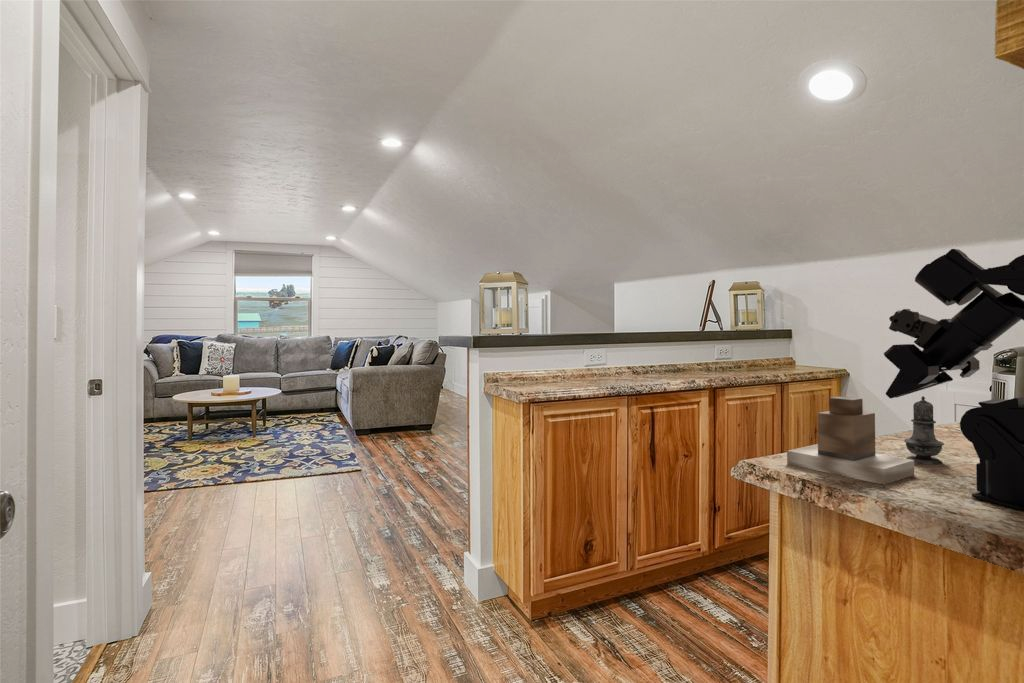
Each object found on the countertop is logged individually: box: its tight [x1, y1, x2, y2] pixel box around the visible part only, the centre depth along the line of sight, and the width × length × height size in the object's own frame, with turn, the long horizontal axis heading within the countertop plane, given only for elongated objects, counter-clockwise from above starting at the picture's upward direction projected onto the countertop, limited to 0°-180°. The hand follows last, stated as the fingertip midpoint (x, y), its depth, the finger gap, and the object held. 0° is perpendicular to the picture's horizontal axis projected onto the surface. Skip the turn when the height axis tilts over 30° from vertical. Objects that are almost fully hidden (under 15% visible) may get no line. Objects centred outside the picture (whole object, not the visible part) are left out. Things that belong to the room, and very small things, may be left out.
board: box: [786, 443, 915, 486], centre depth 92 cm, size 16×10×2 cm, turn 30°
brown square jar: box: [816, 396, 876, 461], centre depth 92 cm, size 6×7×10 cm
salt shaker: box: [903, 395, 945, 466], centre depth 97 cm, size 6×6×12 cm
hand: (890, 395), depth 86 cm, fingers closed
